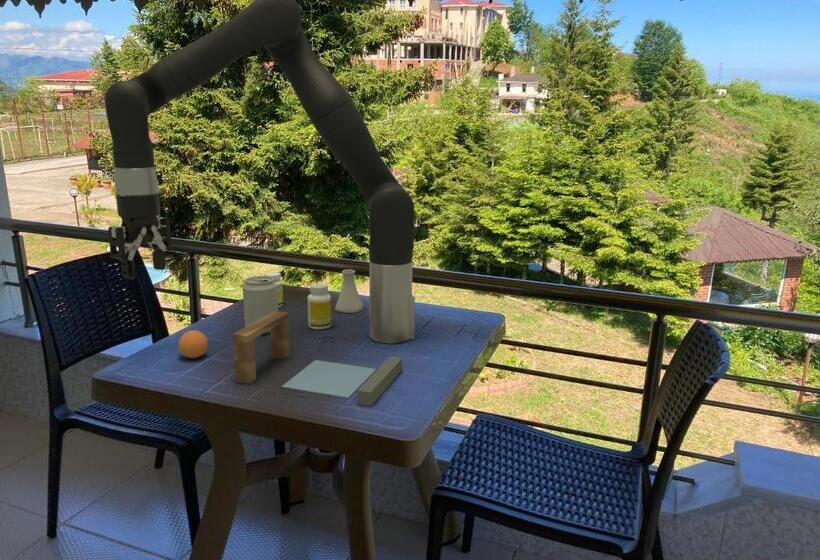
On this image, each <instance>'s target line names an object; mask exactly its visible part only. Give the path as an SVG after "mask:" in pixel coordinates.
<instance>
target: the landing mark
mask: <svg viewBox="0 0 820 560" xmlns="http://www.w3.org/2000/svg"><path fill="white" fill-rule="evenodd" d="M376 371H377V369H376V368H371V367H366V366H365V367H364V366H359V365H352V364H344V363H339V362H337V363H336V362H332V361H331V362H330V361H323V360H318V359H317V360H316V359H314V360H313V361H312V362H311V363H309V364H308V365H307V366H306V367H304V368H303V369H302V370H300V371H299V372H298V373H297V374H295V375H294V376H293V377H292V378H291V379H289V380H288V381H286V382H285V383H284V384H283V385H281V388H282V387H283V388H284V389H289V388H290V389H289V390H295V391H302V392H308V393H315V394H319V395H325V396H331V397H337V398H344V399H350V398H351V396H353V395H354V393H355V392H357V390H358V389H359V388H360V387H361V386H362V385H363V384H364V383H365V382H366V381H367V380H368V379H369V378H370V377H371V376H372V375H373V374H374V373H375V372H376ZM283 388H282V389H283Z"/></svg>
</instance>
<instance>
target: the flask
mask: <svg viewBox="0 0 820 560" xmlns="http://www.w3.org/2000/svg"><path fill="white" fill-rule="evenodd" d="M355 273H356V270H354V269H344V270H342V271H341V274H342V275H343V277H342V279H343V280H342V286H341V289H340V293H339V296H338V299H337V301H336V304H335V307H334V311H336V312H339V313H343V314H344V313H348V314H350V313H351V314H354V313H357V312H361V311H362V310H364V304H363V302H362V300H361V296H360V294H359V291H358V289H357V285H356V282H355Z"/></svg>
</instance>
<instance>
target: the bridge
mask: <svg viewBox="0 0 820 560" xmlns="http://www.w3.org/2000/svg"><path fill="white" fill-rule="evenodd" d="M289 320H290V319H289V312H288V311H280V310H278V311H274V312H272V313H270V314H268V315H266V316H265V317H263V318H261V319H259V320H257V321H256V322H254V323H252V324H250V325H248V326H246V327H245V326H244V327H243V328H241V329H239V330H237V331H236V332H234V333H233V334H232V345H233V362H234V377H235V383H241V384H247V385H251V384H253V383H254V382H256V381H257V371H256V369H257V368H256V355H255V339H256V338H258V337H259V336H261V335H263V333H265V332H266V331H268V330H270V331H271V332H270V348H271V349H270V350H271V358H273V359H274V358H275V359H280V360H281V359H282V360H286V359H288V358H289V357H291V348H290V347H291V346H290V324H289V323H290V321H289ZM265 334H266V333H265Z"/></svg>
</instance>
